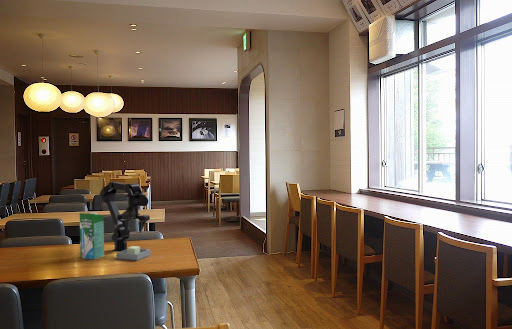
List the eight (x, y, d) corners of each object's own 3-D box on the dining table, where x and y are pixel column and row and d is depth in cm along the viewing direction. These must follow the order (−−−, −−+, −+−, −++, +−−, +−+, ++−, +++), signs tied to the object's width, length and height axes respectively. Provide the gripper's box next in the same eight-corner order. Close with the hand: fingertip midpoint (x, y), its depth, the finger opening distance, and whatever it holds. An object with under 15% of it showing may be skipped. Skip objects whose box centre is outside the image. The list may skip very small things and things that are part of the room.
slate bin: (116, 259, 253) (116, 252, 253) (130, 253, 265) (130, 247, 265) (137, 261, 248) (137, 254, 248) (150, 255, 261) (150, 249, 260)
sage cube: (127, 256, 255) (127, 247, 255) (132, 254, 260) (132, 246, 260) (135, 257, 253) (134, 248, 253) (140, 255, 258) (140, 246, 258)
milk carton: (104, 255, 261) (103, 211, 260) (93, 259, 252) (93, 213, 251) (91, 254, 264) (90, 210, 263) (80, 258, 255) (79, 212, 254)
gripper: (110, 206, 262) (111, 233, 263) (139, 207, 256) (139, 235, 257) (122, 203, 273) (123, 230, 273) (150, 205, 267) (150, 232, 267)
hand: (133, 232), depth 267 cm, fingers open, 9 cm apart
